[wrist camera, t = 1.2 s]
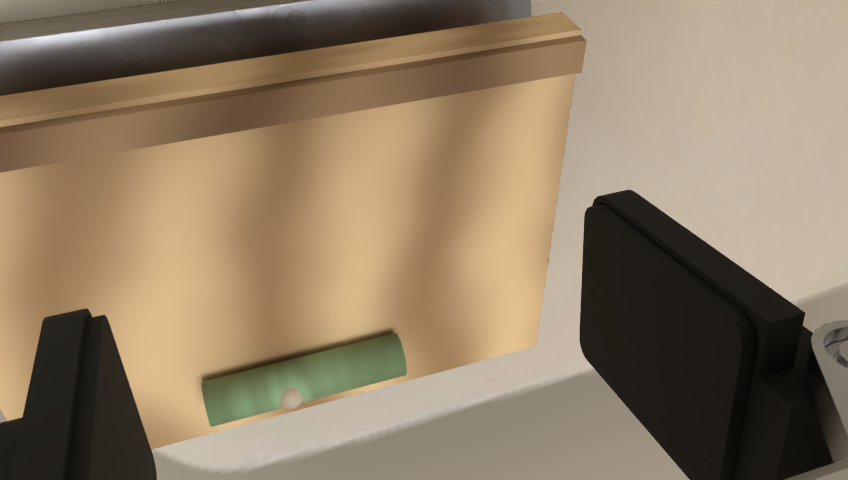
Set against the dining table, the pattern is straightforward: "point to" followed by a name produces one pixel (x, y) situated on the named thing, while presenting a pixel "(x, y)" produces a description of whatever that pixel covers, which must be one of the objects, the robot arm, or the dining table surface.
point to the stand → (214, 34)
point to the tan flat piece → (290, 218)
